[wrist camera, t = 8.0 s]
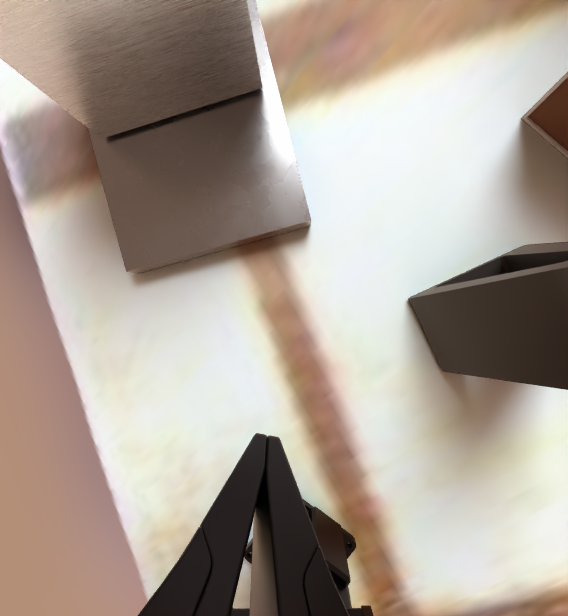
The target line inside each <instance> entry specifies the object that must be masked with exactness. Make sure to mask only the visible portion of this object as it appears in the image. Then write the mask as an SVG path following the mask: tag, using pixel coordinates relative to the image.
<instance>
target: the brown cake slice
mask: <svg viewBox="0 0 568 616" xmlns="http://www.w3.org/2000/svg"><path fill="white" fill-rule="evenodd" d="M521 119H522V120H524V121H525V122H526V123H527V124H528V125H529V126H531V127H532V128H533V129H534V130H535V131H536V132H538V133H539V134H540V135H541V136H542V137H543V138H544V139H546V140H547V141H548V142H549V143H550V144H551V145H553V146H554V147H555V148H556V149H557V150H558V151H560V152H561V153H562V154H563V155H564V156H565V157H567V158H568V72H567V73H566V74H565V75H564V76H563V77H562V78H561V79H560V80H559V81H558V82H557V83H556V84H555V85H554V86H553V87H552V88H551V89H550V90H549V91H548V92H547V93H546V94H545V95H544V96H543V97H542V98H541V99H540V100H539V101H538V102H537V103H536V104H535V105H534V106H533V107H532V108H531V109H530V110H529V111H528V112H527V113H526V114H525V115H524V116H523V117H522V118H521Z"/></svg>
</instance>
